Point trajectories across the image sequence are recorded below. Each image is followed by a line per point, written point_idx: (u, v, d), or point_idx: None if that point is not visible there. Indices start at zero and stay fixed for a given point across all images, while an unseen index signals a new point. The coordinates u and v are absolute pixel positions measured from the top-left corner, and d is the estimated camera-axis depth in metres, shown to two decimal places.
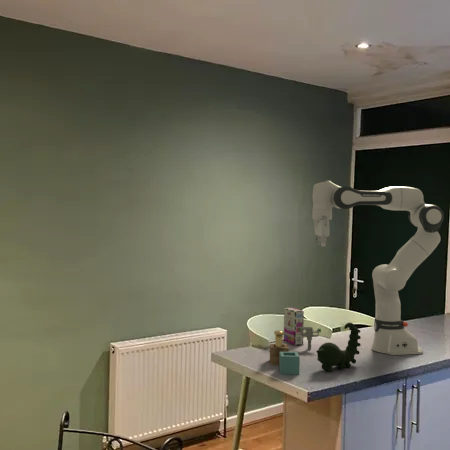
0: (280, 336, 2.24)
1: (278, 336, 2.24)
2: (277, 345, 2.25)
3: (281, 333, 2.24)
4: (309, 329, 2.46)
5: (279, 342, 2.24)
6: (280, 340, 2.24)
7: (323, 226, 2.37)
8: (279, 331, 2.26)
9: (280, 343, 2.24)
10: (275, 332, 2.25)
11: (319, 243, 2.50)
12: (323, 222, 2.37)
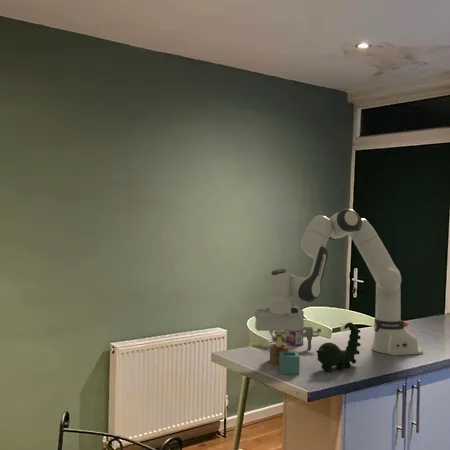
0: (280, 336, 2.24)
1: (278, 336, 2.24)
2: (277, 345, 2.25)
3: (281, 333, 2.24)
4: (309, 329, 2.46)
5: (279, 342, 2.24)
6: (280, 340, 2.24)
7: None
8: (279, 331, 2.26)
9: (280, 343, 2.24)
10: (275, 332, 2.25)
11: None
12: None
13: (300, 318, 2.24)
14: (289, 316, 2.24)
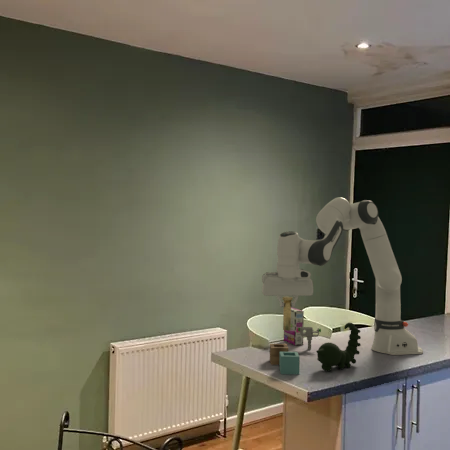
0: (289, 302, 2.13)
1: (286, 301, 2.13)
2: (285, 311, 2.13)
3: (290, 299, 2.12)
4: (309, 329, 2.46)
5: (288, 308, 2.13)
6: (289, 306, 2.13)
7: (263, 283, 2.14)
8: (287, 297, 2.14)
9: (289, 309, 2.13)
10: (283, 298, 2.13)
11: None
12: None
13: (310, 283, 2.12)
14: (298, 281, 2.12)
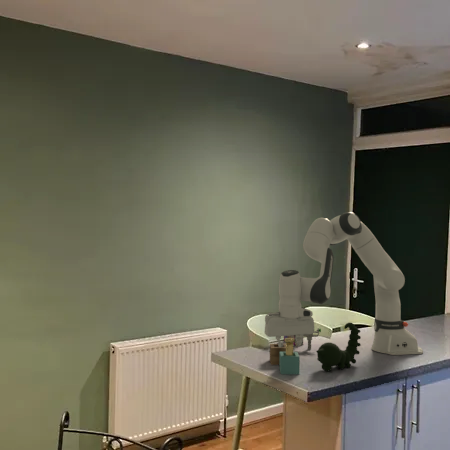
0: (291, 344, 2.12)
1: (289, 343, 2.11)
2: (288, 353, 2.11)
3: (293, 340, 2.11)
4: None
5: (291, 350, 2.11)
6: (291, 348, 2.12)
7: (265, 324, 2.11)
8: (289, 338, 2.13)
9: (291, 351, 2.12)
10: (286, 340, 2.11)
11: (296, 343, 2.14)
12: None
13: (312, 321, 2.13)
14: (300, 320, 2.12)
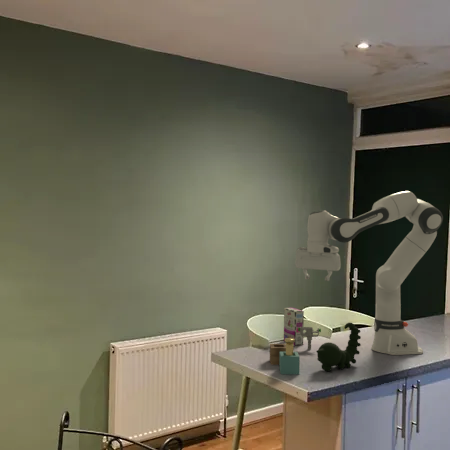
0: (291, 344, 2.12)
1: (289, 343, 2.11)
2: (288, 353, 2.11)
3: (293, 340, 2.11)
4: (309, 329, 2.46)
5: (291, 350, 2.11)
6: (291, 348, 2.12)
7: None
8: (289, 338, 2.13)
9: (291, 351, 2.12)
10: (286, 340, 2.11)
11: None
12: None
13: (333, 258, 2.25)
14: (323, 256, 2.28)
